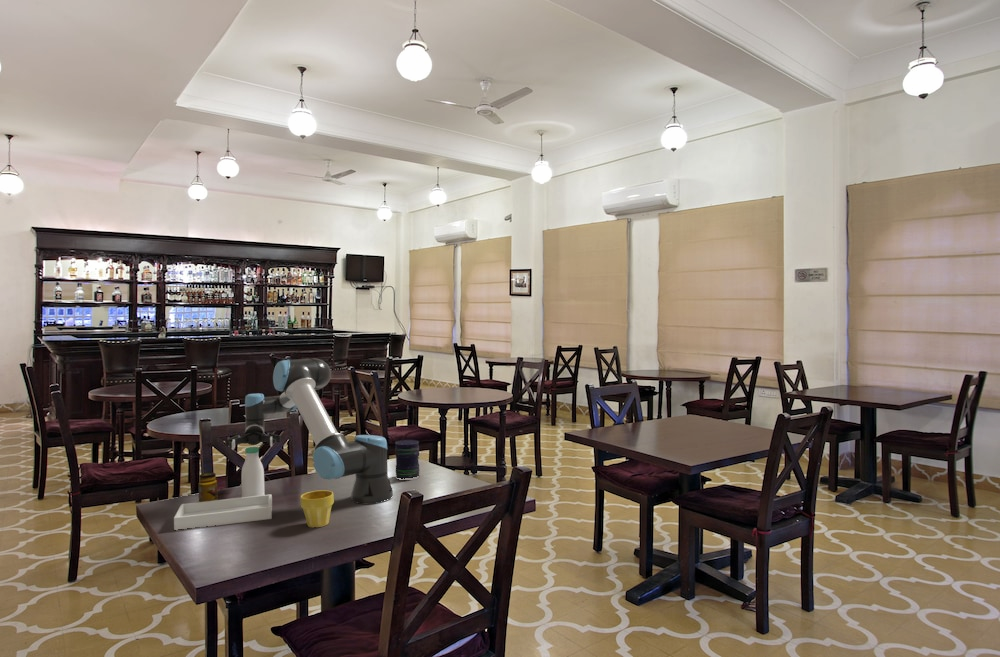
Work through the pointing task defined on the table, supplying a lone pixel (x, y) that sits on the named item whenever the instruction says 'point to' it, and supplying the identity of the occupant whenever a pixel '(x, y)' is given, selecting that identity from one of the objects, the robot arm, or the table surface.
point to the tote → (223, 512)
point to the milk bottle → (252, 474)
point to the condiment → (207, 487)
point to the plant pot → (317, 507)
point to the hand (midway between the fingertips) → (252, 444)
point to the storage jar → (407, 458)
